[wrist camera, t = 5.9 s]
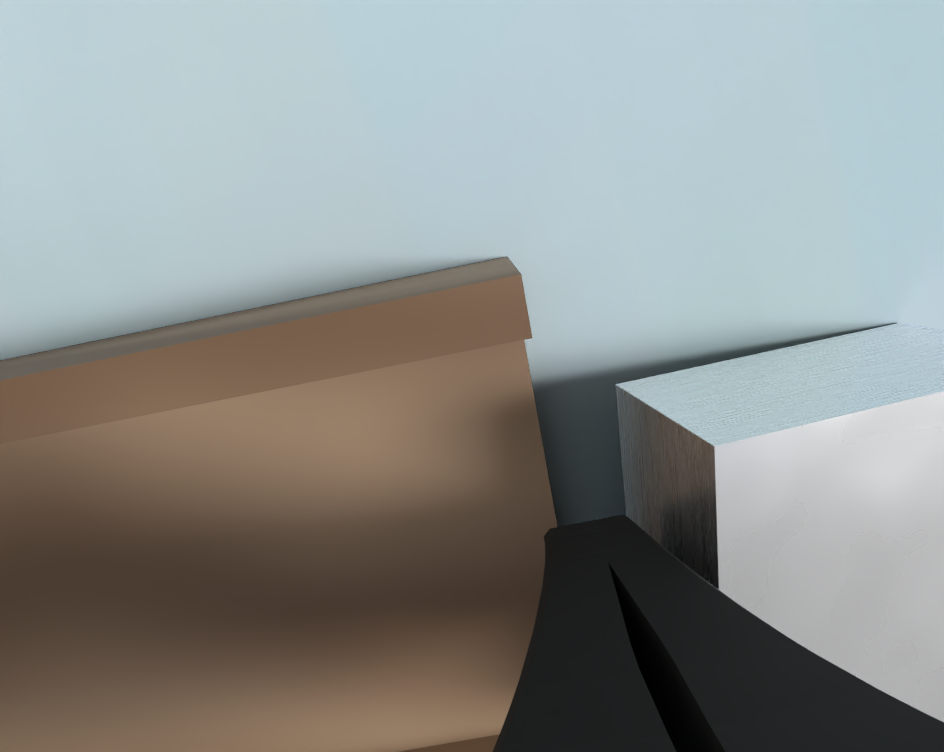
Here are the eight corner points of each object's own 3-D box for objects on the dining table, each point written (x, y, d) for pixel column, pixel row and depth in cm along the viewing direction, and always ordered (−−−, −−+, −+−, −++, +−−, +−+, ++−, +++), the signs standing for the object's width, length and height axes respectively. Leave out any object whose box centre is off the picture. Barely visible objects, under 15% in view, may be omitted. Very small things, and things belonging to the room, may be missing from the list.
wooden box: (592, 727, 12) (620, 842, 10) (-65, 840, 12) (-171, 971, 10) (507, 256, 9) (520, 274, 7) (-332, 428, 10) (-554, 493, 8)
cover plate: (881, 625, 11) (1022, 733, 9) (641, 698, 11) (726, 837, 8) (901, 322, 10) (1082, 357, 7) (615, 384, 9) (714, 446, 6)
